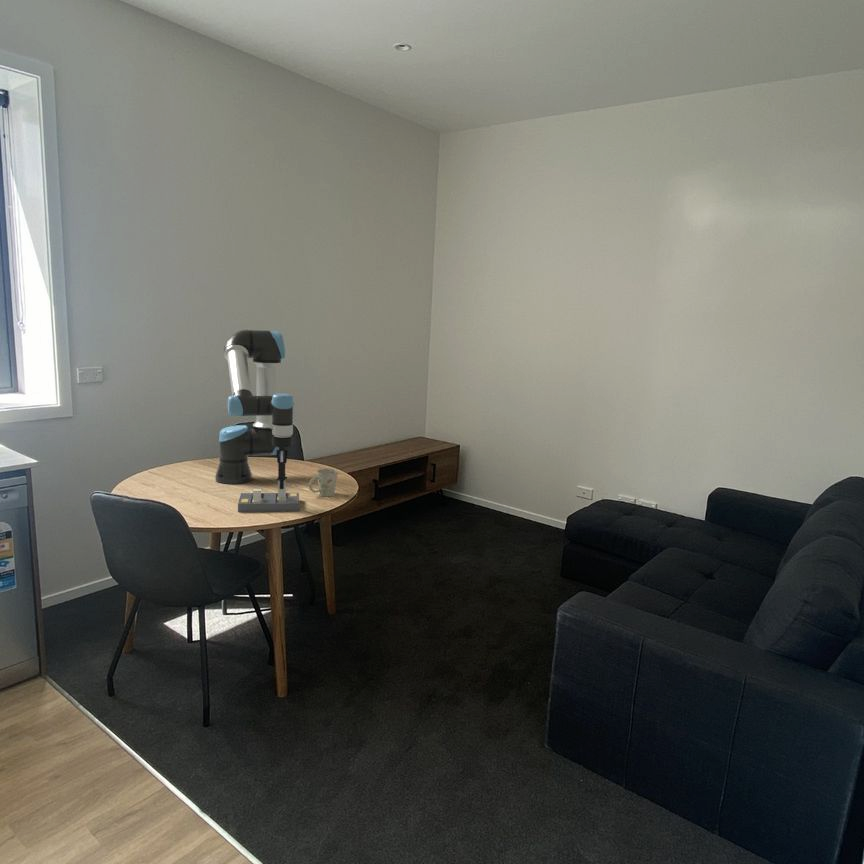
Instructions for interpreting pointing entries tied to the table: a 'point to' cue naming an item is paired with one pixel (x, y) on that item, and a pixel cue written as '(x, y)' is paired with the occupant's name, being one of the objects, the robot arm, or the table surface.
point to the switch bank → (268, 503)
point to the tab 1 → (257, 496)
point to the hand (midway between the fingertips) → (281, 496)
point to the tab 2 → (282, 498)
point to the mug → (325, 482)
